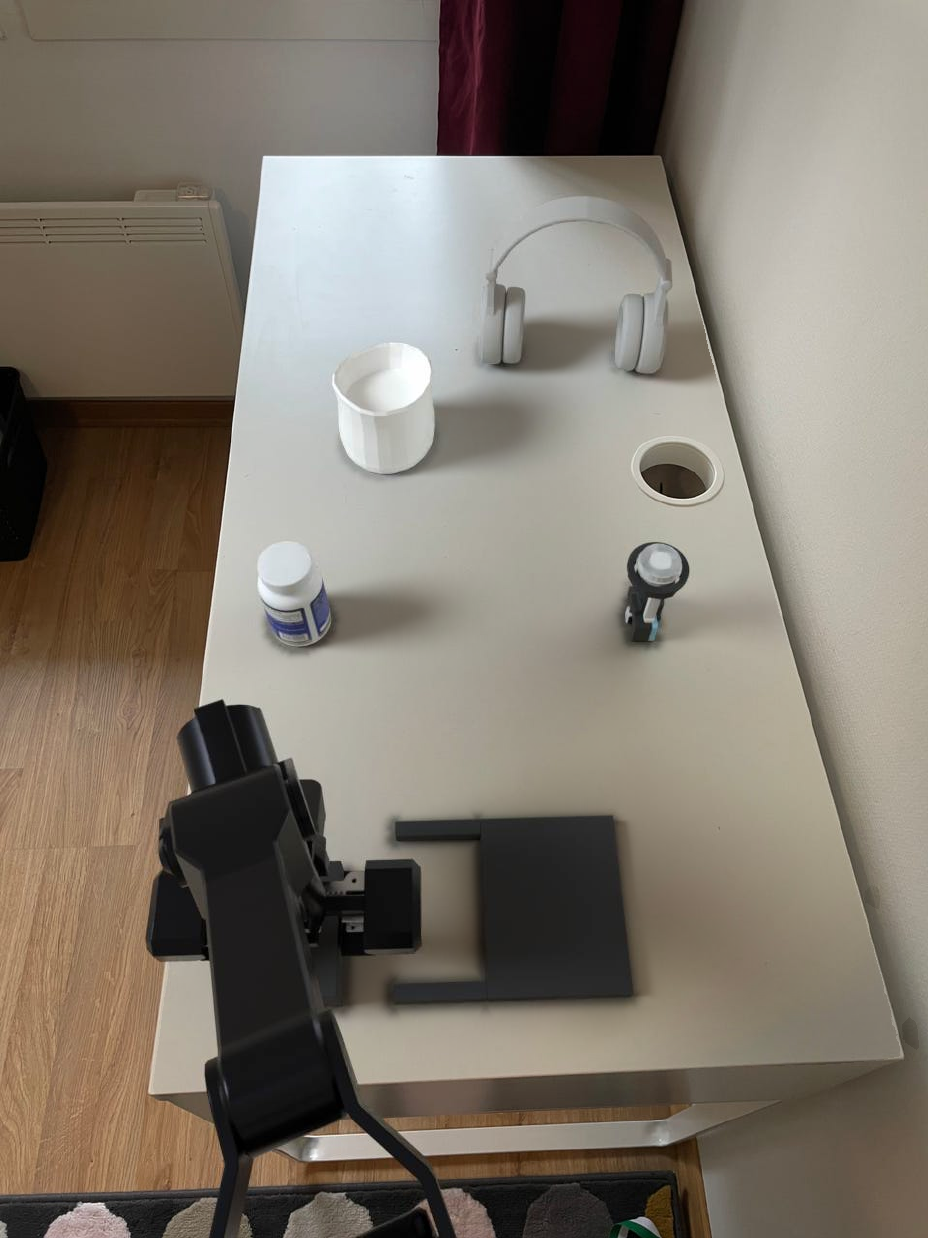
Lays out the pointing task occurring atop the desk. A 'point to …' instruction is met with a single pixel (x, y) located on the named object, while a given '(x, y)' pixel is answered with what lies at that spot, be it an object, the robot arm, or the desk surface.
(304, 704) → the desk surface
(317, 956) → the foam pad
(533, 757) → the desk surface
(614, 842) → the base pad
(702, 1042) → the desk surface
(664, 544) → the push button
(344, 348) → the desk surface
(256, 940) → the robot arm
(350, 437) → the cup
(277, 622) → the pill bottle
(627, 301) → the headphones
